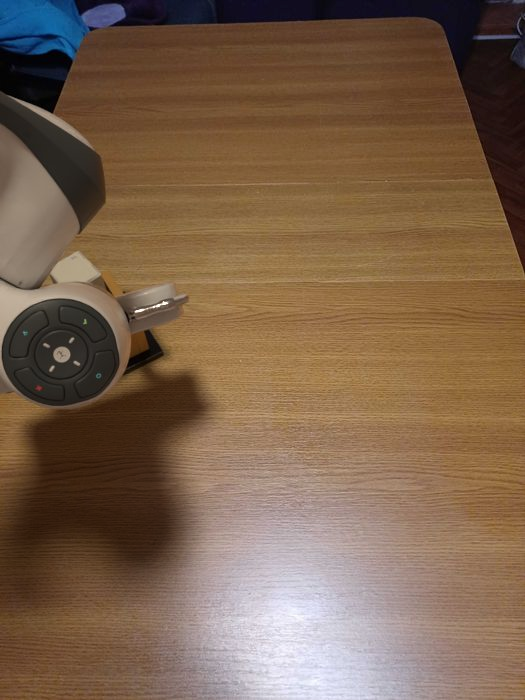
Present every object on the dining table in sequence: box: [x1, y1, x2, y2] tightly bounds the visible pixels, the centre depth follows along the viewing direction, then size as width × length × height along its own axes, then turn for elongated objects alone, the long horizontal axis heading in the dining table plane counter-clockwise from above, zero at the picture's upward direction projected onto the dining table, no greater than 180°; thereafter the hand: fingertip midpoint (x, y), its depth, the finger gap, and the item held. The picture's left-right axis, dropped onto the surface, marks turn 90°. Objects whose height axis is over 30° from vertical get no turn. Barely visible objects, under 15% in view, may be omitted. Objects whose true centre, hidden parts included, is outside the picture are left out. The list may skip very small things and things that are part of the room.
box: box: [49, 250, 106, 290], centre depth 73 cm, size 5×4×13 cm
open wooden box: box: [100, 270, 165, 377], centre depth 76 cm, size 12×12×7 cm
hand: (85, 321), depth 67 cm, fingers open, 8 cm apart
